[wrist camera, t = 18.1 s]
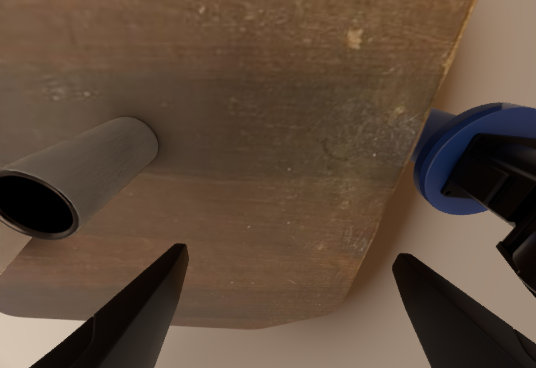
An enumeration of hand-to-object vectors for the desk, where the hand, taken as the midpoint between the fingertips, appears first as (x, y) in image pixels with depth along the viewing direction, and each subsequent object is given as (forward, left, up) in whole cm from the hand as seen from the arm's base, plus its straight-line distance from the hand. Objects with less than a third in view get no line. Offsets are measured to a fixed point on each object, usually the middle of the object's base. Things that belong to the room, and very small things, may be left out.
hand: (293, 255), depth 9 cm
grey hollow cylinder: (+13, +1, -13) cm, 19 cm away
